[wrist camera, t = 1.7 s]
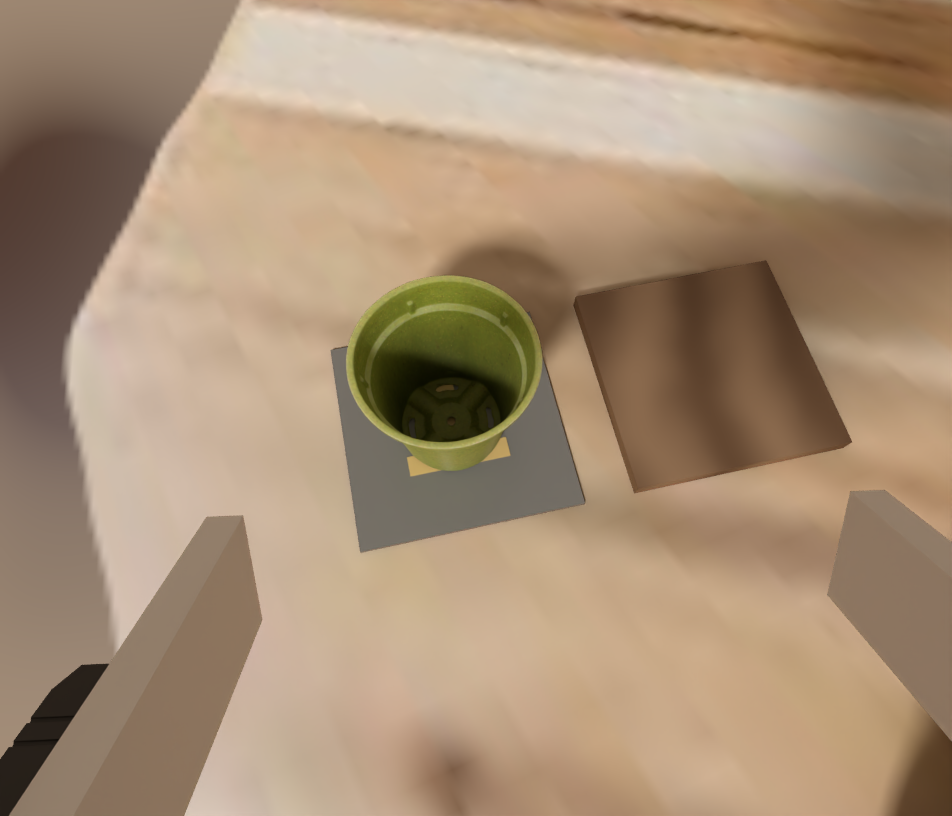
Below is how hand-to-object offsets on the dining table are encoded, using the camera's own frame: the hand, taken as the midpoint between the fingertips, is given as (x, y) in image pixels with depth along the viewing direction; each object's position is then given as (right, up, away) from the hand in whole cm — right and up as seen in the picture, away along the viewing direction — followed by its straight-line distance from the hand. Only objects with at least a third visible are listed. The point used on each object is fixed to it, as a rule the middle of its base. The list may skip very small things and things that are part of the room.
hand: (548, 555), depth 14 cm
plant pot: (-3, +2, +25) cm, 25 cm away
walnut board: (+13, +5, +26) cm, 29 cm away
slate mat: (-3, +2, +25) cm, 25 cm away
